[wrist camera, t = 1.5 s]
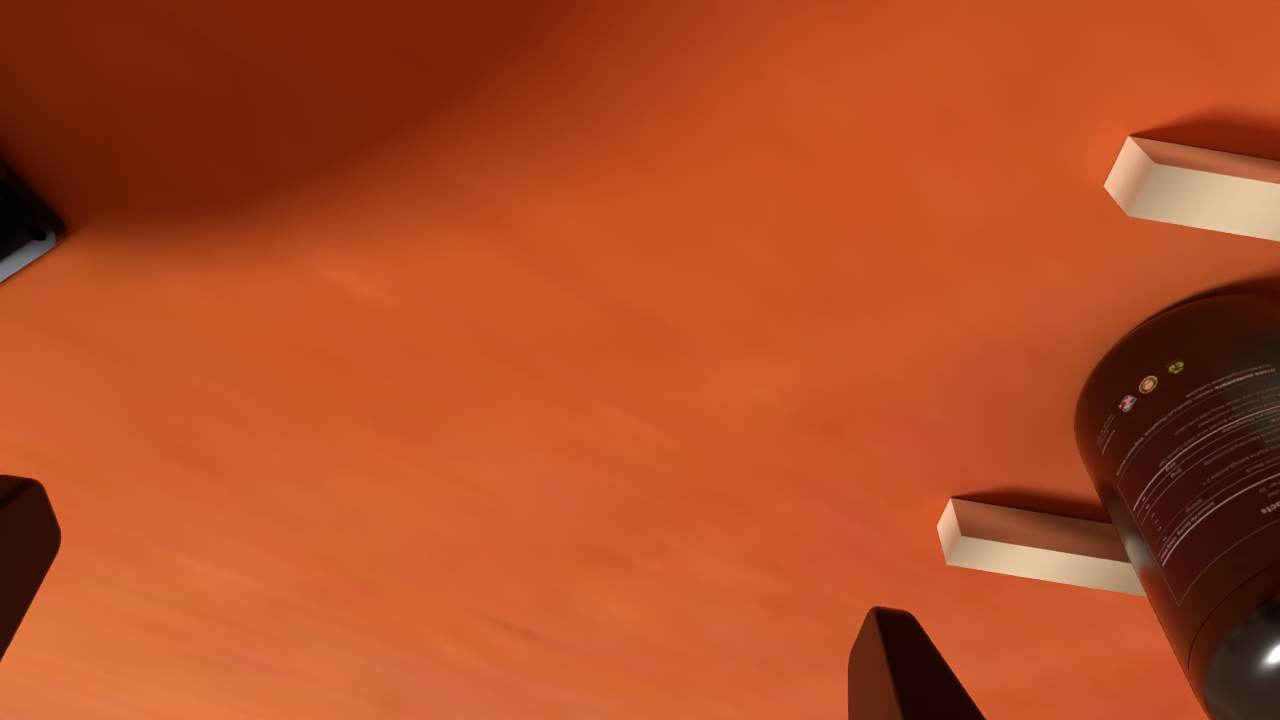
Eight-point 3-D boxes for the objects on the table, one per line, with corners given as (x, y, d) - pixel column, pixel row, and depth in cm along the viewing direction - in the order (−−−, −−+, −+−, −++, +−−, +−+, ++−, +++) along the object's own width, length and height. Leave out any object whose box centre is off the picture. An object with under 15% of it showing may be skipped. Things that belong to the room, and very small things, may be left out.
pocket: (936, 525, 26) (946, 564, 25) (1128, 135, 19) (1155, 163, 18) (1299, 584, 27) (1327, 626, 25) (1628, 219, 19) (1688, 252, 18)
